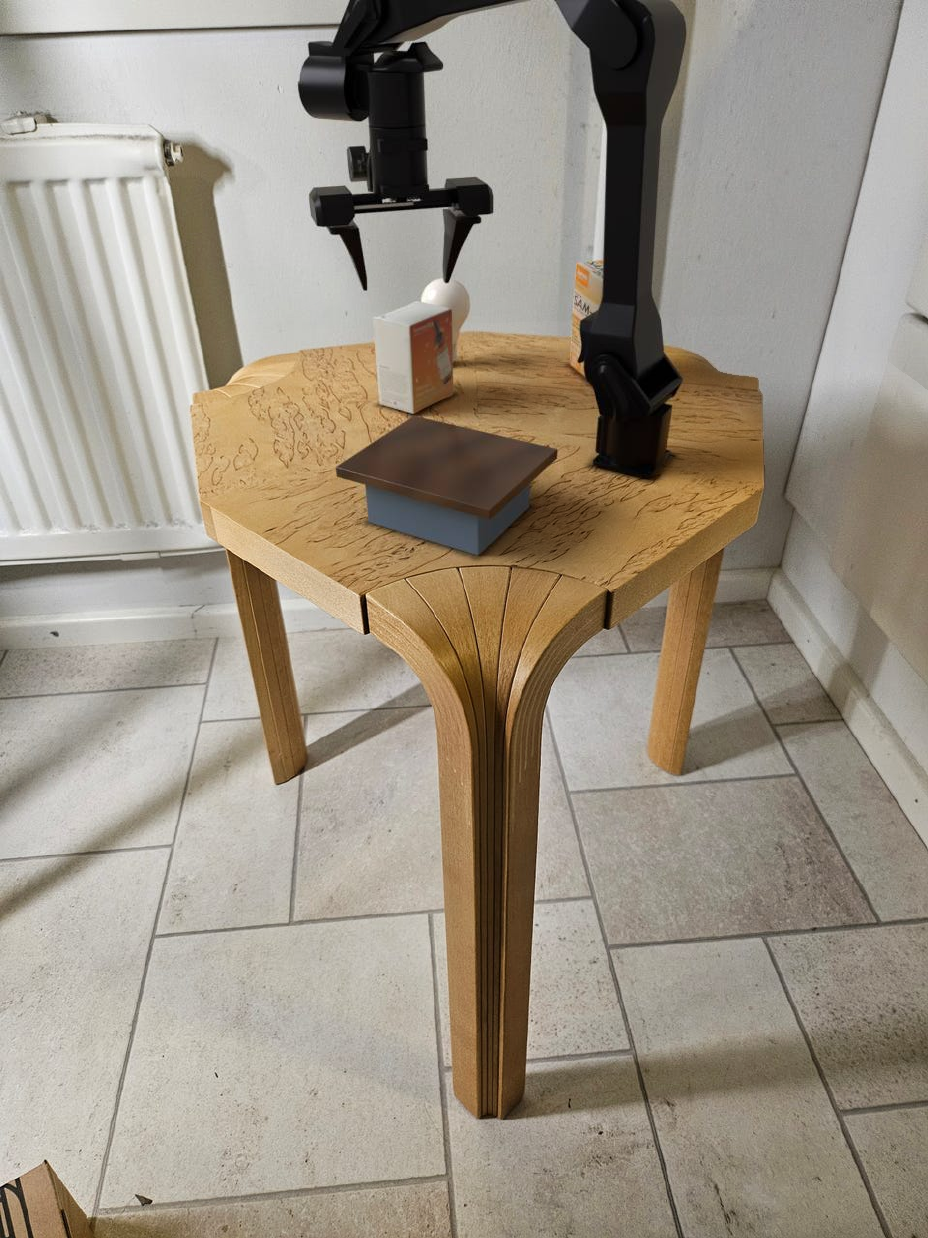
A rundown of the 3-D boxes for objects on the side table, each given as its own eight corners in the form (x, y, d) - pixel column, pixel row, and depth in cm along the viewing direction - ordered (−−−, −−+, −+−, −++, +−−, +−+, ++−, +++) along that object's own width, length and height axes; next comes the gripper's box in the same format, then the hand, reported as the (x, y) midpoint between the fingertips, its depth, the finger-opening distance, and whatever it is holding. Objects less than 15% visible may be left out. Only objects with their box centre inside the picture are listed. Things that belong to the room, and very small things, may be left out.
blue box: (529, 507, 83) (531, 460, 80) (478, 556, 76) (478, 506, 73) (425, 479, 88) (423, 434, 85) (368, 522, 81) (363, 475, 78)
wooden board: (557, 458, 80) (557, 448, 79) (490, 520, 71) (490, 509, 71) (414, 424, 87) (413, 415, 86) (336, 476, 78) (335, 466, 77)
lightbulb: (413, 364, 114) (409, 278, 107) (447, 352, 117) (445, 268, 111) (446, 376, 110) (443, 288, 104) (480, 363, 114) (480, 277, 107)
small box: (413, 416, 100) (408, 325, 94) (378, 404, 103) (371, 316, 97) (455, 394, 106) (453, 307, 99) (420, 384, 108) (416, 299, 102)
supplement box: (567, 365, 113) (573, 261, 105) (600, 361, 114) (609, 257, 106) (593, 388, 106) (602, 279, 99) (628, 383, 108) (640, 275, 100)
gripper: (465, 110, 94) (467, 260, 103) (294, 119, 90) (312, 274, 99) (495, 123, 85) (494, 286, 94) (307, 133, 81) (325, 301, 91)
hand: (405, 285), depth 95 cm, fingers open, 9 cm apart
